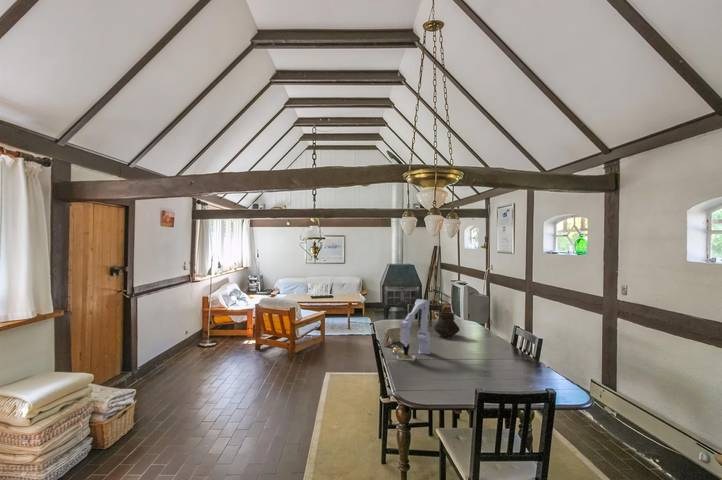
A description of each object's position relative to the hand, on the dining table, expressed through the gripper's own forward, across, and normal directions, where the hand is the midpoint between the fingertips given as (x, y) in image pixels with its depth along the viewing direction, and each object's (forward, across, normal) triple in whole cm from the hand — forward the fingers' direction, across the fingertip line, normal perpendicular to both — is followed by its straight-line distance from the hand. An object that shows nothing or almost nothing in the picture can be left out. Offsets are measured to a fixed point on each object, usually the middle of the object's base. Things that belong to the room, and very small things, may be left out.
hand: (406, 353), depth 289 cm
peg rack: (+4, 0, 0) cm, 4 cm away
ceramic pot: (+4, -77, +38) cm, 86 cm away
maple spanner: (+3, 0, 0) cm, 3 cm away
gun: (+4, -42, -13) cm, 44 cm away
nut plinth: (+4, -16, -8) cm, 18 cm away
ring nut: (+3, -17, -8) cm, 19 cm away
